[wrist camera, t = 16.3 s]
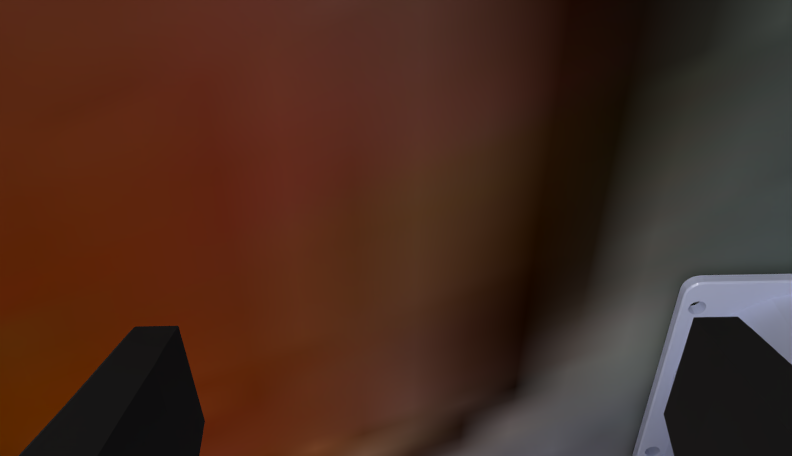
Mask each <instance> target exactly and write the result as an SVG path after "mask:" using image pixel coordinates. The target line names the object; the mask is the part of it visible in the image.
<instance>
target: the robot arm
mask: <svg viewBox="0 0 792 456" xmlns="http://www.w3.org/2000/svg"><path fill="white" fill-rule="evenodd" d="M699 301H700V302H699ZM694 302H699V303H697V304H696V305H692V306H690V305H691V304H693V303H694ZM204 422H205V420H204V417H203V413H202V410H201V406H200V403H199V399H198V395H197V392H196V388H195V385H194V381H193V377H192V374H191V370H190V367H189V363H188V359H187V356H186V352H185V349H184V345H183V341H182V338H181V334H180V331H179V327H178V326H149V327H134V328H133V329H132V330H131V331H130V332H129V333H128V335H127V336H126V337H125V338H124V339H123V340H122V341H121V342H120V343H119V345H118V346H117V347H116V348H115V349H114V350H113V351H112V353H111V354H110V355H109V356H108V357H107V358H106V359H105V361H104V362H103V363H102V364H101V365H100V366H99V367H98V369H97V370H96V371H95V372H94V373H93V374H92V375H91V377H90V378H89V379H88V380H87V381H86V382H85V383H84V384H83V386H82V387H81V388H80V389H79V390H78V391H77V392H76V394H75V395H74V396H73V397H72V398H71V399H70V400H69V401H68V403H67V404H66V405H65V406H64V407H63V408H62V409H61V410H60V411H59V413H58V414H57V415H56V416H55V417H54V418H53V419H52V420H51V421H50V422H49V423H48V424H47V426H46V427H45V428H44V429H43V430H42V431H41V432H40V433H39V434H38V435H37V436H36V437H35V439H34V440H33V441H32V442H31V443H30V444H29V445H28V446H27V447H26V448H25V449H24V450H23V452H22V453H21V454H20V455H19V456H199V453H200V447H201V441H202V435H203V428H204ZM632 456H792V274H746V275H700V276H694V277H692V278H689V279H688V280H686V281H685V282H684V283H683V284H682V286H681V288H680V291H679V295H678V298H677V302H676V305H675V309H674V312H673V316H672V319H671V323H670V326H669V330H668V333H667V337H666V340H665V344H664V347H663V351H662V354H661V357H660V361H659V364H658V368H657V371H656V375H655V378H654V382H653V385H652V389H651V392H650V396H649V399H648V403H647V406H646V410H645V413H644V417H643V420H642V424H641V427H640V430H639V434H638V437H637V441H636V444H635V448H634V451H633V455H632Z"/></svg>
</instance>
